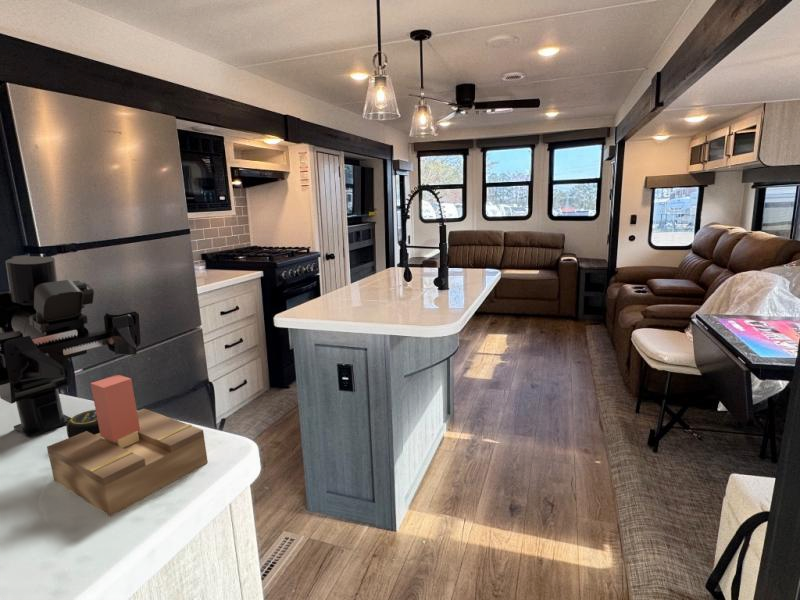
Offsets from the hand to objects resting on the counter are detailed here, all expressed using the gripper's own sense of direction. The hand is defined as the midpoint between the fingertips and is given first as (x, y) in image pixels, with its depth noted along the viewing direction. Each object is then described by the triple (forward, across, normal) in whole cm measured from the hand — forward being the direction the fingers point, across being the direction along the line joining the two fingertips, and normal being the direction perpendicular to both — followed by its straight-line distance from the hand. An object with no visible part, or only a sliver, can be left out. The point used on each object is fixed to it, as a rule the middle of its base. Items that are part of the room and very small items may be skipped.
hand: (100, 361), depth 61 cm
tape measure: (-9, +3, +18) cm, 21 cm away
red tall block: (+4, 0, +11) cm, 12 cm away
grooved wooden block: (+6, 0, +15) cm, 16 cm away
